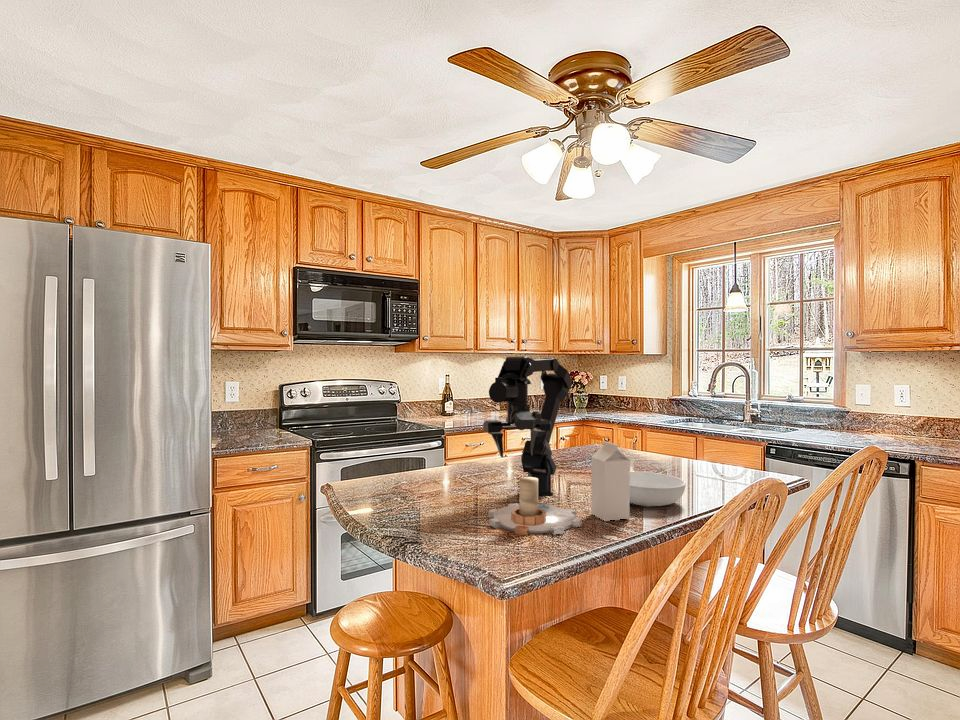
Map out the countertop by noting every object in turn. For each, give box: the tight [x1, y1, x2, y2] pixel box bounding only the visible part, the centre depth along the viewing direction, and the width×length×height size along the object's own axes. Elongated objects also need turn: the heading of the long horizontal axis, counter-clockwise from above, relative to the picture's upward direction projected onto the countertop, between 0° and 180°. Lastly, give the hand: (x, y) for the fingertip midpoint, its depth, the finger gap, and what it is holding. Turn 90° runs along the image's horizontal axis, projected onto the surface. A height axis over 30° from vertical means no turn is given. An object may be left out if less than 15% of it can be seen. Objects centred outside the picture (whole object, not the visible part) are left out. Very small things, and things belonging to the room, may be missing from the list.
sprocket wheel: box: [487, 502, 583, 536], centre depth 136 cm, size 23×23×4 cm
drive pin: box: [518, 476, 539, 516], centre depth 131 cm, size 4×4×10 cm
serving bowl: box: [630, 471, 687, 507], centre depth 154 cm, size 21×21×7 cm
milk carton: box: [590, 440, 631, 522], centre depth 139 cm, size 7×7×19 cm
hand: (517, 456), depth 154 cm, fingers open, 9 cm apart
